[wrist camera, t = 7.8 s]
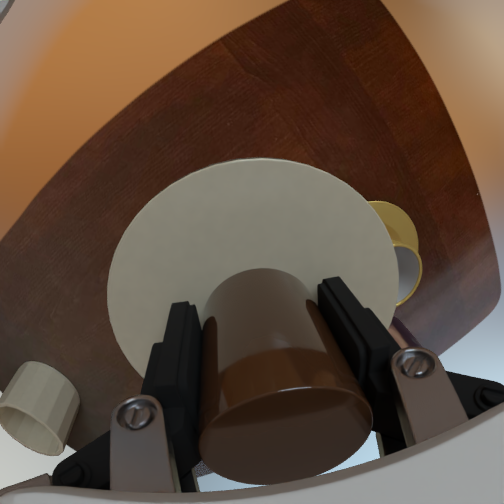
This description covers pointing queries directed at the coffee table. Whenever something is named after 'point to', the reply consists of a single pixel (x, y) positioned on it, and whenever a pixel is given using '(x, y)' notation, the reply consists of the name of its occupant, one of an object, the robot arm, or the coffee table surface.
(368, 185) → the coffee table surface
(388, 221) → the cup
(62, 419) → the pot
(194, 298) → the lid
